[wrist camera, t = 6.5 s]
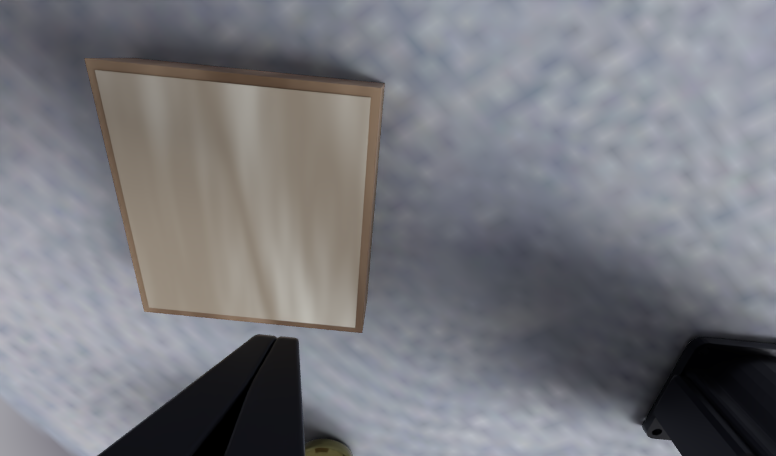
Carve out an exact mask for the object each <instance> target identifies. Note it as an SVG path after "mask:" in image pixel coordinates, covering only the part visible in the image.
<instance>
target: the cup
mask: <svg viewBox="0 0 776 456" xmlns="http://www.w3.org/2000/svg"><path fill="white" fill-rule="evenodd" d="M304 445H305V456H353V454H352V452H351V451H350V449H349V448H348V447H347V446H345V445H344V444H342V443H340V442H338V441H335V440H331V439H315V440H311V441H309V442H307V443H305V444H304Z"/></svg>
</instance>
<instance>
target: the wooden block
mask: <svg viewBox="0 0 776 456" xmlns="http://www.w3.org/2000/svg"><path fill="white" fill-rule="evenodd" d="M84 59H85V63H86V67H87V72H88V76H89V80H90V84H91V89H92V93H93V97H94V101H95V105H96V110H97V114H98V118H99V122H100V127H101V131H102V135H103V139H104V143H105V148H106V152H107V156H108V160H109V165H110V169H111V173H112V177H113V181H114V186H115V190H116V194H117V198H118V203H119V207H120V211H121V215H122V219H123V224H124V228H125V232H126V236H127V241H128V245H129V249H130V253H131V257H132V262H133V266H134V270H135V274H136V279H137V283H138V287H139V291H140V295H141V300H142V304H143V308H144V312H154V313H164V314H174V315H184V316H195V317H205V318H215V319H225V320H235V321H246V322H256V323H266V324H276V325H286V326H296V327H307V328H317V329H327V330H337V331H347V332H358V333H362V330H363V324H364V317H365V311H366V304H367V294H368V282H369V269H370V257H371V245H372V233H373V220H374V208H375V196H376V184H377V171H378V159H379V147H380V134H381V122H382V110H383V98H384V85H385V83H377V82H367V81H357V80H347V79H337V78H327V77H318V76H308V75H298V74H288V73H278V72H268V71H258V70H248V69H238V68H228V67H218V66H208V65H198V64H188V63H178V62H169V61H159V60H149V59H139V58H84Z"/></svg>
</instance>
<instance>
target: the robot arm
mask: <svg viewBox="0 0 776 456" xmlns="http://www.w3.org/2000/svg"><path fill="white" fill-rule="evenodd" d="M642 427H643V430H644V431H645V433H646V434H647V436H648V437H650V438H654V439H664V440H672V442H673V443H674V445H675V446H676V448H677V449H678V450H679V452H680V453H681V455H682V456H776V344H769V343H759V342H749V341H738V340H728V339H718V338H708V337H699V338H696V339H694V340H692V341H691V342H690V343H689V344H688V345H687V347H686V349H685V351H684V353H683V354H682V356H681V358H680V360H679V361H678V363H677V365H676V367H675V368H674V370H673V372H672V374H671V375H670V377H669V379H668V381H667V383H666V384H665V386H664V388H663V390H662V391H661V393H660V395H659V397H658V398H657V400H656V402H655V404H654V406H653V407H652V409H651V411H650V413H649V414H648V416H647V418H646V420H645V421H644V423H643V426H642ZM98 456H305V445H304V427H303V410H302V392H301V375H300V357H299V341H298V339H297V338H292V337H278V338H277V337H275V336H271V335H260V334H259V335H255V336H253V337H252V338H251V339H249V340H248V341H247V342H246V343H244V344H243V345H242V346H240V347H239V348H238V349H236V350H235V351H234V352H232V353H231V354H230V355H228V356H227V357H226V358H225V359H223V360H222V361H221V362H219V363H218V364H217V365H215V366H214V367H213V368H211V369H210V370H209V371H208V372H206V373H205V374H204V375H202V376H201V377H200V378H198V379H197V380H196V381H194V382H193V383H192V384H191V385H189V386H188V387H187V388H185V389H184V390H183V391H181V392H180V393H179V394H177V395H176V396H175V397H174V398H172V399H171V400H170V401H168V402H167V403H166V404H164V405H163V406H162V407H160V408H159V409H158V410H157V411H155V412H154V413H153V414H151V415H150V416H149V417H147V418H146V419H145V420H143V421H142V422H141V423H140V424H138V425H137V426H136V427H134V428H133V429H132V430H130V431H129V432H128V433H126V434H125V435H124V436H123V437H121V438H120V439H119V440H117V441H116V442H115V443H113V444H112V445H111V446H109V447H108V448H107V449H106V450H104V451H103V452H102V453H100V454H99V455H98Z"/></svg>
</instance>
